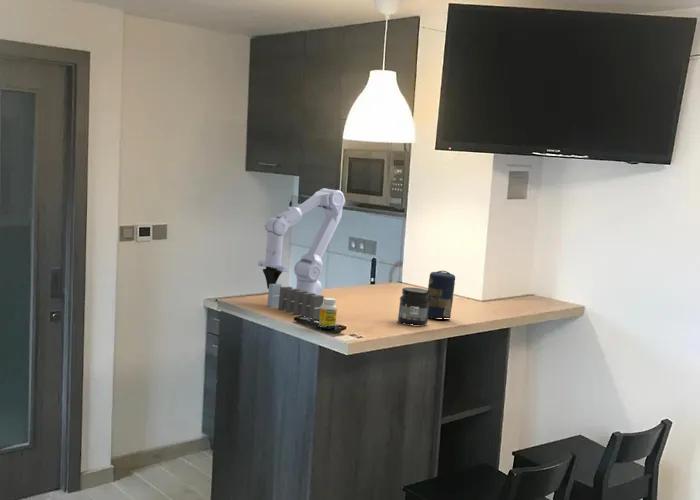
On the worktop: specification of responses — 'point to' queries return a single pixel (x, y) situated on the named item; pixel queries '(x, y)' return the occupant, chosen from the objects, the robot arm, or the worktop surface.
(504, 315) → the worktop surface
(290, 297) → the domino
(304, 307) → the domino
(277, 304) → the domino
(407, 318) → the supplement container
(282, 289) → the domino
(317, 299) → the domino
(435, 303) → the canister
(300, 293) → the domino
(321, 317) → the supplement bottle
